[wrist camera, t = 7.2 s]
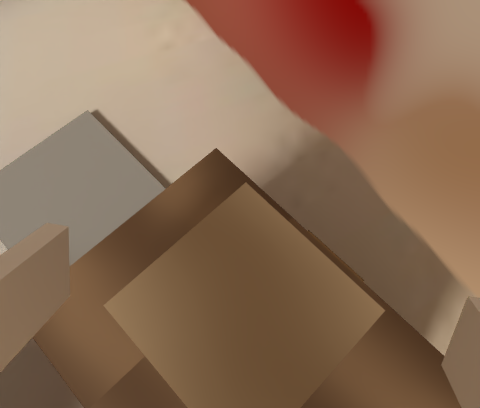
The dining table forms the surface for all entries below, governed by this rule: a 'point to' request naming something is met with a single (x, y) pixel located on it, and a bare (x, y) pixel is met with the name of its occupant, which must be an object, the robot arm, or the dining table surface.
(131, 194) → the mat
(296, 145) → the dining table surface
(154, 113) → the dining table surface
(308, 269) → the wooden block
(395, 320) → the brown square frame
